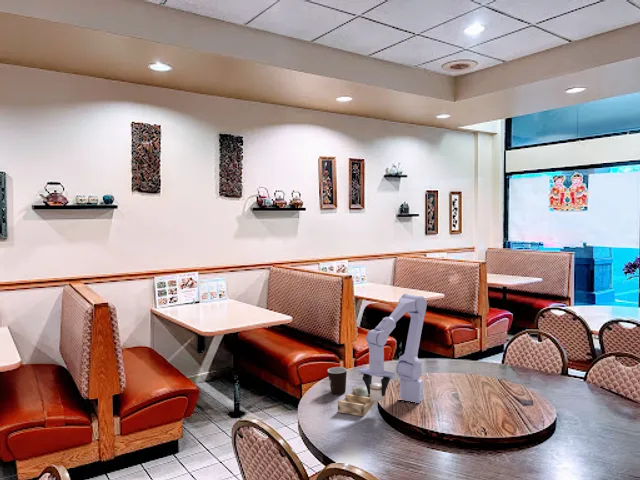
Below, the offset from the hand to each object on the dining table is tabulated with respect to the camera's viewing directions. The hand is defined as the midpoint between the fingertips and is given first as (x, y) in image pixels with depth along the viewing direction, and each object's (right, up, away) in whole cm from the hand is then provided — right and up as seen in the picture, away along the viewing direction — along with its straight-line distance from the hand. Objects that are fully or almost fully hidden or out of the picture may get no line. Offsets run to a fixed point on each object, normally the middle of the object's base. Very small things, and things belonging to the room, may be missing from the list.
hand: (376, 394), depth 195 cm
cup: (0, -2, 0) cm, 2 cm away
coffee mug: (-14, -7, +27) cm, 31 cm away
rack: (-7, -8, +9) cm, 13 cm away
